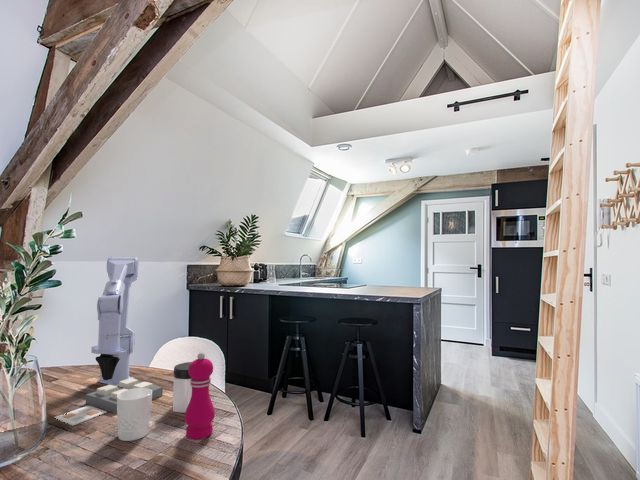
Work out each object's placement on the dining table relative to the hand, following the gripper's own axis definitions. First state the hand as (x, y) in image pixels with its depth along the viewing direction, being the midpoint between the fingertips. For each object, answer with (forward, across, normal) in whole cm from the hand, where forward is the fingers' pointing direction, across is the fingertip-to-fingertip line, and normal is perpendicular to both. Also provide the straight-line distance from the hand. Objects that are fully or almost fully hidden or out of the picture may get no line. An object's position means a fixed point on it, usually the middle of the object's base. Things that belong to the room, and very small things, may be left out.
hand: (107, 379), depth 110 cm
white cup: (+7, +26, -9) cm, 28 cm away
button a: (+4, 0, 0) cm, 4 cm away
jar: (+7, +25, +9) cm, 27 cm away
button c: (+4, +7, 0) cm, 8 cm away
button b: (+4, 0, +7) cm, 8 cm away
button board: (+7, +3, +4) cm, 8 cm away
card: (+7, +3, -9) cm, 12 cm away
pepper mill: (+7, +40, -1) cm, 41 cm away
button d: (+4, +7, +7) cm, 11 cm away
